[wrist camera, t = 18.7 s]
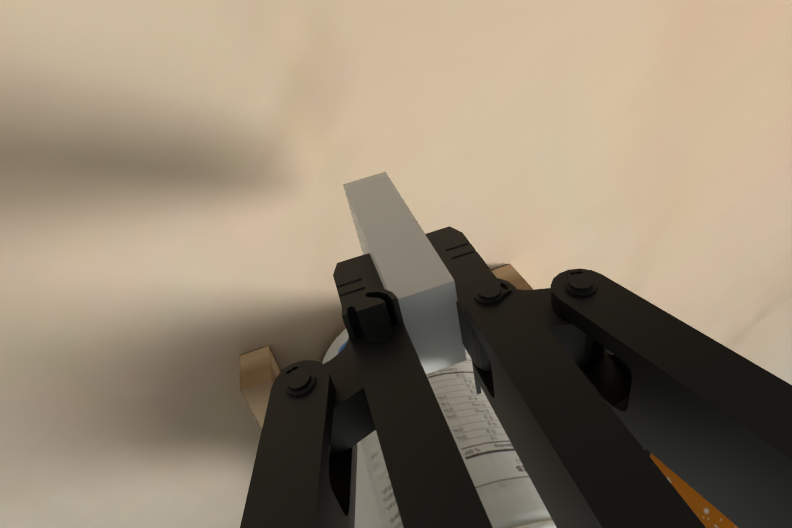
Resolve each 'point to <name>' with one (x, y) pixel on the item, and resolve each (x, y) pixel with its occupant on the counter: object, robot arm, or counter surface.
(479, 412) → the supplement tub
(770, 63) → the counter surface
